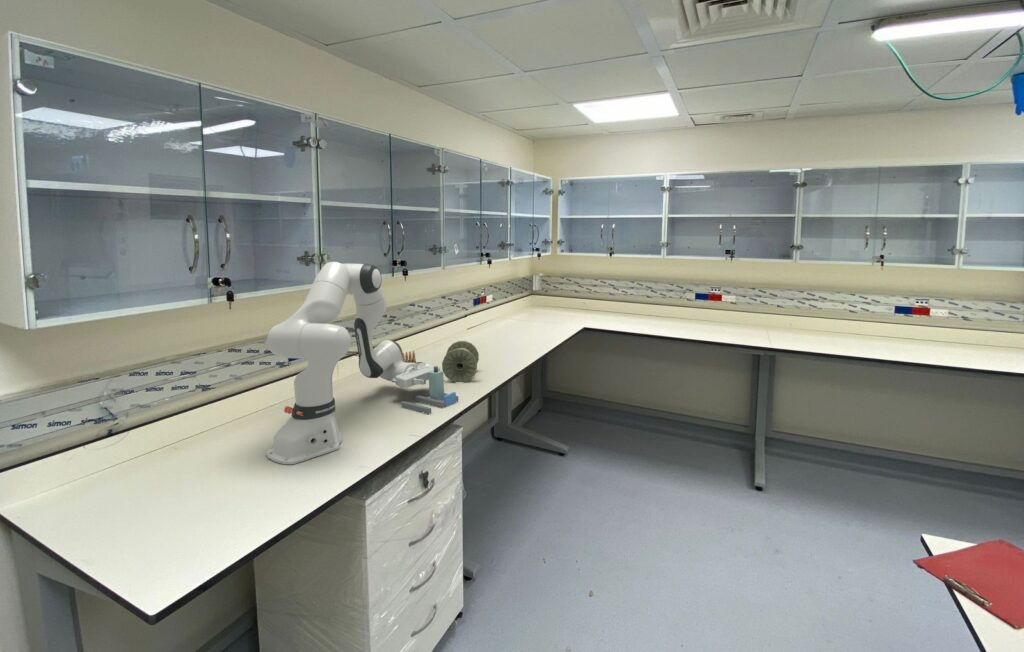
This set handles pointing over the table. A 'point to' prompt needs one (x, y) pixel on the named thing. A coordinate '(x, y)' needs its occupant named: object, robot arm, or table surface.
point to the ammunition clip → (411, 360)
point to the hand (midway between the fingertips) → (433, 379)
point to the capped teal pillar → (436, 384)
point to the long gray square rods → (430, 402)
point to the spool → (460, 361)
